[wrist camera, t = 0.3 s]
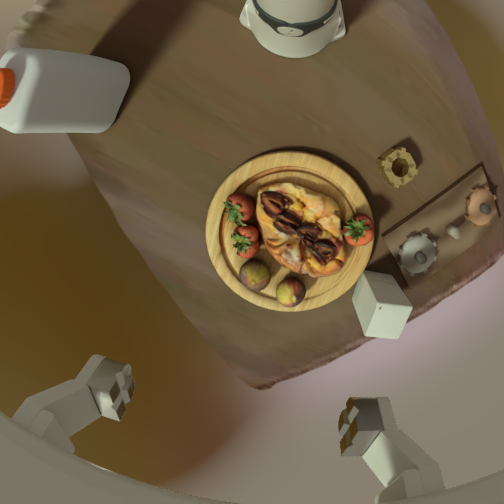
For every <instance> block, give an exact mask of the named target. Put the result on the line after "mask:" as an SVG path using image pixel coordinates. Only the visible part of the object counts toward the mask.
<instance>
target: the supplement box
mask: <svg viewBox="0 0 504 504" xmlns="http://www.w3.org/2000/svg"><path fill="white" fill-rule="evenodd" d="M352 301H353V304H354V307H355V310H356V312H357V315H358V318H359V321H360V324H361V326H362V329H363V332H364V335H365V336H370V337H381V338H391V339H398V338H399V336H400V334H401V332H402V330H403V328H404V326H405V323H406V321H407V319H408V317H409V315H410V313H411V311H412V309H413V307H412V305H411V303H410V302H409V300H408V299H407V297H406V296H405V294H404V293H403V291H402V290H401V288H400V287H399V285H398V284H397V282H396V281H395V279H394V278H393V276H392V275H390V274H384V273H378V272H373V271H367V270H364V272H363V273H362V275H361V276H360V278H359V279H358V282H357V285H356V288H355V291H354V294H353V297H352Z"/></svg>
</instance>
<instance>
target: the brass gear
mask: <svg viewBox="0 0 504 504" xmlns="http://www.w3.org/2000/svg"><path fill="white" fill-rule="evenodd" d="M398 157H399V158H400V160H401V162H402V163H403V166H402V171H401V172H400V173H398V174H397V175H394V173H393V172H392V170H391V167H392V162H393V161H394V160H395V159H397V158H398ZM376 163H377V164H379V170H380V172H381V173H382V175H383V177H384V178H385V180H387V181H389V183H388V184H390V185H392V186H394V187H398V188H399V185H404V184H406V183H407V182H409V181H410V180H412V179H413V178H414V174H416V175H417V173H418V170H417V169H415V168H416V164H415V162H414V160H413V158H412V157H411V155H410V153H408V152H406V148H403V147H397V146H395V149H392V148H391V149H389V150H388V151H386V152H385V153H383V154H382V155H381V157H380V159H377V162H376Z"/></svg>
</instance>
